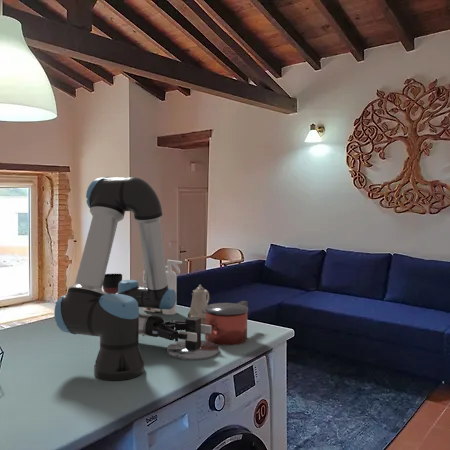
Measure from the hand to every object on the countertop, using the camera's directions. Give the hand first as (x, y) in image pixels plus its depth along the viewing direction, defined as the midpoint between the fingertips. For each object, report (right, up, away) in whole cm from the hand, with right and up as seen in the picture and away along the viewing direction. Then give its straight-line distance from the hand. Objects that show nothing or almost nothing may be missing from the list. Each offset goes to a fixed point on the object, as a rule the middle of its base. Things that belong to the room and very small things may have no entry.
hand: (203, 333), depth 164 cm
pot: (+10, -6, +22) cm, 25 cm away
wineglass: (-42, -4, +42) cm, 59 cm away
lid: (-4, -7, +2) cm, 8 cm away
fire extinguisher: (-19, -4, +57) cm, 60 cm away
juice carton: (-27, -3, +61) cm, 67 cm away
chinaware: (-1, -5, +42) cm, 42 cm away
